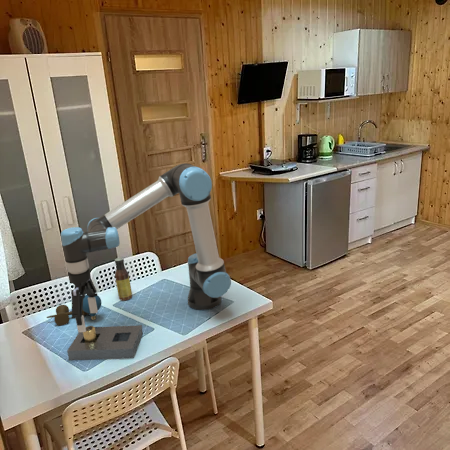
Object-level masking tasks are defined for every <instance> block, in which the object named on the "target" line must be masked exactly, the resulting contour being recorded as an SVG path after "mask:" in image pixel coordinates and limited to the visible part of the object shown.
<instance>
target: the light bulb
mask: <svg viewBox="0 0 450 450" xmlns="http://www.w3.org/2000/svg"><path fill="white" fill-rule="evenodd" d="M95 299H96V304H97V310H98V311H99V310H100V309H101V307H102V300H101V297H100V296H99V295H98V294H97V296H95ZM83 311H85V312H86V313H89V314H88V315H89V316H90V318H91V320H92V321H94V320H96V318H97V316H96V315H97V313H90V308H89V303H88V295H87V294H85V298H84V299H83Z"/></svg>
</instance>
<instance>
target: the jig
mask: <svg viewBox="0 0 450 450" xmlns="http://www.w3.org/2000/svg"><path fill="white" fill-rule="evenodd" d="M94 327H95V332H96V338H97V341H96V342H91V343H85V340H84V335H83V332H78V333H77V334H76V336H75V338H74V340H72V342H71V344H70V346H69V347H68V348H67V351H66V352H67V359H68V361H89V360H90V361H91V360H92V361H93V360H111V359H112V360H114V359H115V360H118V359H119V360H121V359H134V358H135V355H136V353H137V351H138V348H139V346H140V343H141V340H142V337H143V326H142V324H141V325H140V324H139V325H116V326H113V325H112V326H94Z"/></svg>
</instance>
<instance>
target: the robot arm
mask: <svg viewBox="0 0 450 450" xmlns="http://www.w3.org/2000/svg"><path fill="white" fill-rule="evenodd" d="M212 188H213V181H212V179H211V177H210V175H209V174H208V173H207V171H205V170H204V169H202V168H201V167H198V166H195V165H193V164H190V163H181V164H178V165H176V166H174V167H171V168H170V169H169V170H168V171H165V173H163V174H160V175H159V176H158V179H157V181H155V182H153V183H151V184H150V185H148V186H147V187H145V188H144V189H142V190H141V191H139V192H138V193H136V194H135V195H133V196H131V197H130V198H128V199H127V200H125V201H123V202H122V203H121V204H119V205H117V206H116V207H114V208H112V209H111V210H110V211H108V212H106V213H105V214H103V215H102V216H100V217H94V218H92V219H90V220H89V221H88V223H87V227H86V229H87V230H86V231H83V228H81V227H73V226H71V227H68V228H66V229H63V230H62V231H61V232H60V239H61V240H60V241H61V247H62V252H63V255H64V261H65V262H64V264H65V266H66V271H67V276H68V280H69V282H70V284H73V285H74V289H71V290H70V292H71V311H72V315H71V318H72V319H75V322H76V323H75V324H76V327H77V328H76V329H77V332H78V333H79V332H86V327H87V326H86V323H85V322H86V321H85V316H83V315H82V309H83V299H84V298H85V295H88V303H89V308H90V313H96V314H98V312H99V310H97V304H96V299H95V296H97V295H98V293H97V291H98V290H97V288H96V286H95V284H94V282H93V279H92V275H91V270H90V264H89V259H88V258H89V257H88V255H87V254H89V253H93V252H100V251H105V250H111V249H115V248H118V247H119V246H120V235H119V233H118V232H119V231H118V229H121V227H123V226H124V225H126V224H128V223H129V222H131V221H132V220H134V219H135V218H137V217H138V216H140V215H142V214H144V213H145V212H146V211H148V210H149V209H151V208H153V207H155V205H158V204H159V203H161V202H162V201H163V200H165V199H167V198H168V197H170V198H171V197H172V198H173V197H174V196H176V195H178V194H179V199H180V203H181V205H182V207H185V208H186V212H187V217H188V221H189V226H190V231H191V234H192V238H193V243H194V248H195V252H196V253H193V254H191V255H189V256H188V258H187V267H188V275H189V277H188V278H189V286H190V287H189V291H188V295H187V305H188V307H190V308H191V309H193V310H196V311H197V310H198V311H207V310H212V309H214V308H216V307H218V306H220V305H221V303H222V296H224V295H226V294H227V293H228V291H229V289H230V288H231V285H232V278H231V276H230V275H229V274H228V273H227V270H226V266H225V261H224V259H222V258H221V257H220V256H219V255H220V254H219V250H218V247H217V240H216V236H215V232H214V231H215V230H214V225H213V221H212V217H211V210H210V207H209V206H210V205H209V202H210V201H211V199H212V195H211V191H212Z"/></svg>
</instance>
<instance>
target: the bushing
mask: <svg viewBox="0 0 450 450" xmlns="http://www.w3.org/2000/svg"><path fill="white" fill-rule="evenodd" d="M85 327H86V332H83V335H84V340H85V343H91V342H96V341H97V338H96V332H95V327H96V326H94V325H88V326H85Z"/></svg>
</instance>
